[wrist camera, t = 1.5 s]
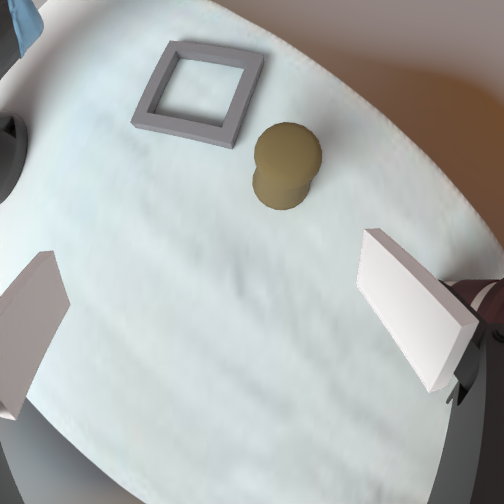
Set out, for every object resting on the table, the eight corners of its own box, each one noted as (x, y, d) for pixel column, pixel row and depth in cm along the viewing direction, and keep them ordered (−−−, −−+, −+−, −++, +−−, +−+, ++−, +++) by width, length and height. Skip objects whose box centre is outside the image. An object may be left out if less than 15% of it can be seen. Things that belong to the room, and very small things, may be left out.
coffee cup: (472, 265, 32) (560, 270, 17) (471, 342, 32) (549, 375, 17) (407, 274, 32) (493, 287, 17) (408, 358, 32) (480, 410, 17)
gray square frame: (136, 127, 33) (130, 122, 31) (173, 48, 33) (169, 40, 31) (232, 149, 33) (230, 143, 31) (263, 63, 33) (263, 54, 31)
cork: (249, 157, 33) (243, 114, 22) (305, 152, 33) (324, 108, 22) (255, 213, 33) (252, 192, 22) (313, 207, 32) (337, 185, 21)
